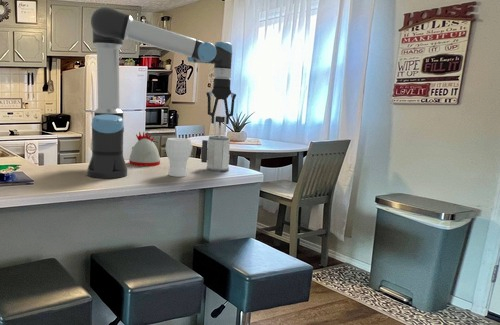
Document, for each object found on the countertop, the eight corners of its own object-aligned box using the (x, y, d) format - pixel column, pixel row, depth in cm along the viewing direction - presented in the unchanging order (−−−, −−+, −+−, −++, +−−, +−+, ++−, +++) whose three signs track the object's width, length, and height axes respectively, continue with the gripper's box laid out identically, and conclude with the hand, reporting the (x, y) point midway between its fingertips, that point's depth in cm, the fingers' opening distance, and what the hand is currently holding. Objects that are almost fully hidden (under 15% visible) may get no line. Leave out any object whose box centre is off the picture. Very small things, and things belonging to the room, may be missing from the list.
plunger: (210, 159, 198) (212, 116, 195) (211, 156, 204) (213, 115, 201) (225, 159, 198) (227, 117, 195) (225, 157, 204) (227, 116, 201)
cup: (185, 178, 178) (186, 141, 176) (160, 176, 180) (161, 139, 178) (194, 173, 189) (195, 138, 186) (170, 171, 191) (171, 136, 188)
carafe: (200, 170, 197) (201, 137, 194) (201, 166, 207) (203, 134, 204) (228, 172, 197) (230, 138, 195) (228, 168, 207) (230, 136, 205)
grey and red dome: (130, 160, 211) (131, 129, 208) (160, 161, 213) (161, 130, 211) (128, 166, 197) (128, 132, 195) (159, 166, 200) (160, 133, 197)
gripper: (202, 77, 191) (199, 131, 195) (241, 79, 192) (238, 133, 196) (203, 77, 198) (201, 129, 202) (241, 79, 199) (238, 131, 203)
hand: (219, 131), depth 199 cm, fingers closed on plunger, 4 cm apart
